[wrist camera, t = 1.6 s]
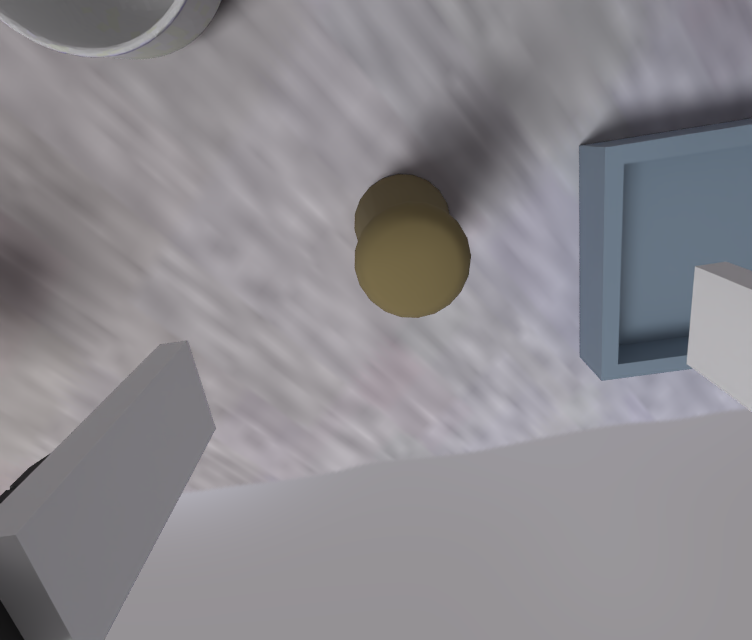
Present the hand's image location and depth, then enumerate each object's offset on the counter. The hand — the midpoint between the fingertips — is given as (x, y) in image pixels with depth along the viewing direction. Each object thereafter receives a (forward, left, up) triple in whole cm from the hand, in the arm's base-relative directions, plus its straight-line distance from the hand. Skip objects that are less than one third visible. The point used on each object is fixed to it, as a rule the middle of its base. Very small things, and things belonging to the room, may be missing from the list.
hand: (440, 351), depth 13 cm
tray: (-21, +4, -19) cm, 29 cm away
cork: (0, 0, -19) cm, 19 cm away
